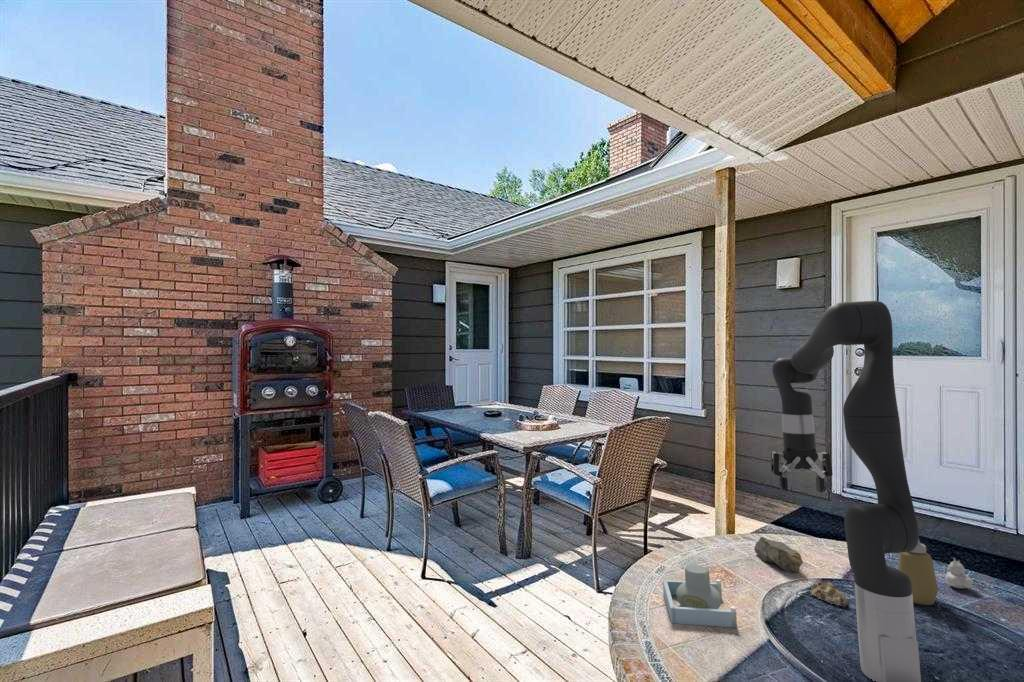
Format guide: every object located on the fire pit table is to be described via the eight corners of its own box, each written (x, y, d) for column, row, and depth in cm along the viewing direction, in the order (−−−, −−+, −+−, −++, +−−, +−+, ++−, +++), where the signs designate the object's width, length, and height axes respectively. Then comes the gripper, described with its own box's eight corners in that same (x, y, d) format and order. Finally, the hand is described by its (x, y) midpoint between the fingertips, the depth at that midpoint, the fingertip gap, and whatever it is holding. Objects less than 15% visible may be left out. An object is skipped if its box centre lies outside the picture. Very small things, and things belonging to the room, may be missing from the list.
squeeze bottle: (898, 590, 128) (893, 523, 130) (938, 598, 123) (932, 528, 125) (898, 602, 122) (893, 531, 123) (940, 611, 117) (934, 537, 118)
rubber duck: (957, 582, 132) (954, 553, 133) (982, 593, 126) (979, 562, 126) (939, 583, 132) (936, 554, 132) (963, 594, 125) (960, 563, 126)
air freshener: (725, 607, 122) (722, 567, 123) (718, 621, 115) (715, 579, 116) (681, 597, 128) (679, 559, 129) (672, 610, 121) (670, 570, 122)
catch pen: (737, 627, 112) (736, 608, 113) (671, 622, 115) (670, 604, 115) (720, 596, 128) (720, 579, 128) (663, 592, 131) (662, 576, 131)
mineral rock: (799, 581, 131) (826, 572, 131) (804, 596, 131) (831, 587, 131) (825, 601, 120) (855, 591, 120) (831, 618, 120) (860, 608, 120)
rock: (815, 556, 142) (789, 551, 139) (811, 579, 141) (784, 574, 139) (770, 535, 158) (746, 531, 156) (767, 556, 158) (742, 551, 155)
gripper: (774, 432, 126) (778, 494, 125) (834, 432, 123) (838, 495, 122) (765, 429, 133) (769, 487, 132) (821, 429, 130) (825, 488, 129)
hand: (802, 491), depth 127 cm, fingers open, 8 cm apart
